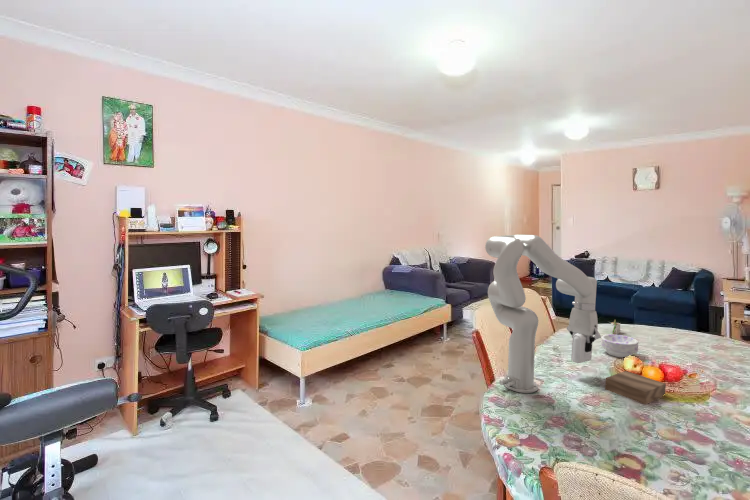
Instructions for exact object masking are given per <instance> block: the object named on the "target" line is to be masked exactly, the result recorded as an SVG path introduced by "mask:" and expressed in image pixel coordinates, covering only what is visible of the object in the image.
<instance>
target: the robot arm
mask: <svg viewBox="0 0 750 500" xmlns="http://www.w3.org/2000/svg"><path fill="white" fill-rule="evenodd" d="M484 248H485V249H484V250H485V253H487V255H488V256H490V257H493V258H496V261H495V264H494V266H493V270H492V271H493V272H492V273H493V277H494V280H493V281H492V282H491V283H490V284H488V285H489V286H488V287H487V297H488V300H489V303H490V305H491V308H492V309H493V313H494V315H495V317H496V319H497V321H498V322H499V323H500V324H501V325H503V326H505V327H507V328H510V329H512V333H511V334H510V335H509V338H508V359H507V361H508V364H507V374H506V377H505V378H504V379H500V380H499V382H498V383H499V385H501V386H504V387H505V388H507V389H508V390H511V391H513V392H517V393H522V394H532V393H535V392H536V391H538V389H539V385H538V383H537V382H535V380H534V379H535V348H536V347H535V346H536V335H537V331H538V328H539V317H538V315H537V313H536V312H535V311H534V310H532V309H531V308H528V307H525V306H524V305H525V303H526V301H527V300H526V299H527V297H526V293H525V290H524V287H523V285H522V281H521V280H520V277H519V274H518V269H517V267H518V263H519V261H520V259H521V257H523V256H525V257H527V258H529V260H530V261H532V263H533V264H535V266H536V267H537V268H538V269H539V270H540V271H541V272H542V273H544V274H546V275H548V276H550V277H552V278H555V279H557V280H556V282H555V288H556V290H557V291H558V292H559V293H561V294H565V295H567V296H568V295H569V296H573V297H574V301H572V303H571V304H572V305H573V307H572V308H571V312H570V316H569V319H568V320H569V321H568V326H566V330H567V331H568V332H569V334H570V335H571V339H573V336H574V335H575V334H577V333H579V334H582V335H586V339H587V342H586V343H585V352H590V351H591V350H592V351H593V343H594V342H595V341H597V340H599V339H601V337H602V336H601V334H600V333H599V331H598V327H599V324H598V323H599V322H598V314H597V311H596V302H597V301H596V298H597V286H598V285H597V284H598V282H597V279H596V278H595V277H592V276H588V275H586V274H585V273H584V272H583V270H581V269H580V268H578V267H576V266H575V265H573V264H572V263H570V262H568V261H567V260H565V259H563V258H562V257H560V256H559V255H558V254H557V253H556V252H555V251H554V250H553V249H552V247H551V246H550V245H549V244H548V243H547V242H546V241H545V240H544V239H543V238H542V237H540V236H539V235H537V234H525V233H524V234H509V235H493V236H491V237H489V238H488V239H487V240H486V242H485V247H484Z"/></svg>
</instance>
